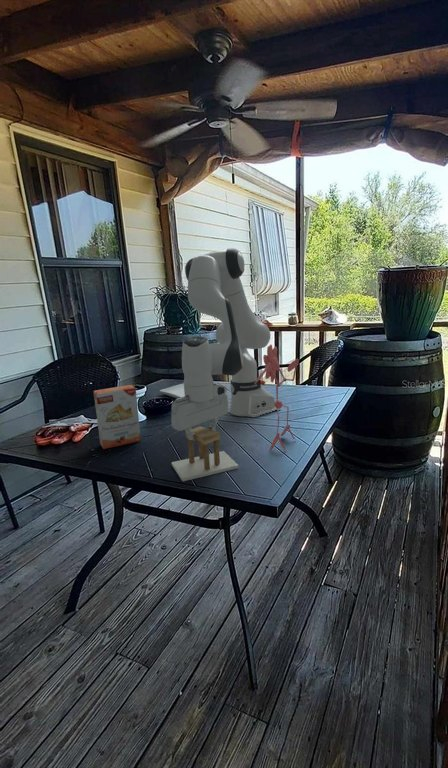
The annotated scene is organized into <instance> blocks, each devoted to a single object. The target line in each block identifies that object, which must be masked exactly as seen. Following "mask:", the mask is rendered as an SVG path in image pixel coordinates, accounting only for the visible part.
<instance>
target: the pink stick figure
mask: <svg viewBox="0 0 448 768" xmlns="http://www.w3.org/2000/svg"><path fill="white" fill-rule="evenodd" d="M299 361H300V360H299V358H296V359H295V360H293V361H291V362H290V363H289V365H288V366H287V368H286V370H287V372H288V373H290V372H291V371H293V370H294V371H293V375H292V379H291V378H286V377H285V376H284V374H283V372H282V370H281V368H280V366H281V365H280V362H279V359H278V347H277V346H274V347H273V345H272V344H269V345H267V351H266V354H264V355H263V362H264V365H265V366H264V369H263V370H262V372H261V373H260V374H259V375H258V376H257V380H256V382H255V383H254V384H256V383H257V382H258V381H259V380H262V379H261V378H263V376H264V375H265V377H264V378H265V380H268V379H270V382H271V383H273V382H274V381H275V382H276V386H275V391H276V392H275V393H276V396H275V397H276V401H275V404H274V405H275V407H276V410H277V411H276V413H277V417H278V418H277V426H276V427H277V430H276V435H275V437H274V438H273V440H272V442H271V445H270V447H269V451H271V450H272V449H274V447H276V444H277V442H278V441H279V443H280V445H281V446H282V447H281V448H282V449H283V450H286V451H287V449H286V447H285V445H284V444H283V442H282V440H281V436H282V437H283V436H284V435H285V434H286V433H287V431H288V432H289V434H290V435H291V437H292V439H295V440H296V438H295V437H294V435H293V432H292V430H291V429H290V427H291V423H289V411H290V410H289V409H290V408H289V407H288V406H286V405H284V404H283V402H282V401H281V400H279V399H278V398H279V396H278V395H279V387H280V386H281V385H282V384H283V383H284V382H287V381H289V382H295V378H296V372H297V367H298V364H299ZM277 371H278V372H279V373H280V375H281V377H282V380H281V381H280V382H279V381H278V379H277ZM283 407H284V408H287V411H286V412H287V413H286V426H285V428H284V429H283V431H282V432H281V433H279V427H280V425H279V424H280V414H279V410H278V409H279V408H280V409H281V408H283ZM277 408H278V409H277ZM251 444H252V443H250V446H251Z"/></svg>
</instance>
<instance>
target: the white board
mask: <svg viewBox="0 0 448 768" xmlns="http://www.w3.org/2000/svg"><path fill="white" fill-rule="evenodd" d="M219 457H220V465H218V466H217V465H214V452H213V453H209V462H210V469H209V470H205V469H204V458H203V459H200V458H199V455H197V456H194V460H195V462H194V463H192V464H191V463H189V458H185V459H181V460H175V461H172V462H171V466H172V468H173V469H174V471H175V472H176V474H177V475H178V477H179V479H180V480H181V481H182V482H186V481H187V482H188V481H190V480H191V481H192V480H194V479H198V478H203V477H207V476H211V475H215V474H219V473H225V472H228V471H232V470H236V469H239V464H238V463H237V462H236V461H235V460H233V458H232V457H231V456H230V455H229V454H227V453H226V451H225V450H222V451H221V450H220V451H219Z"/></svg>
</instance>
